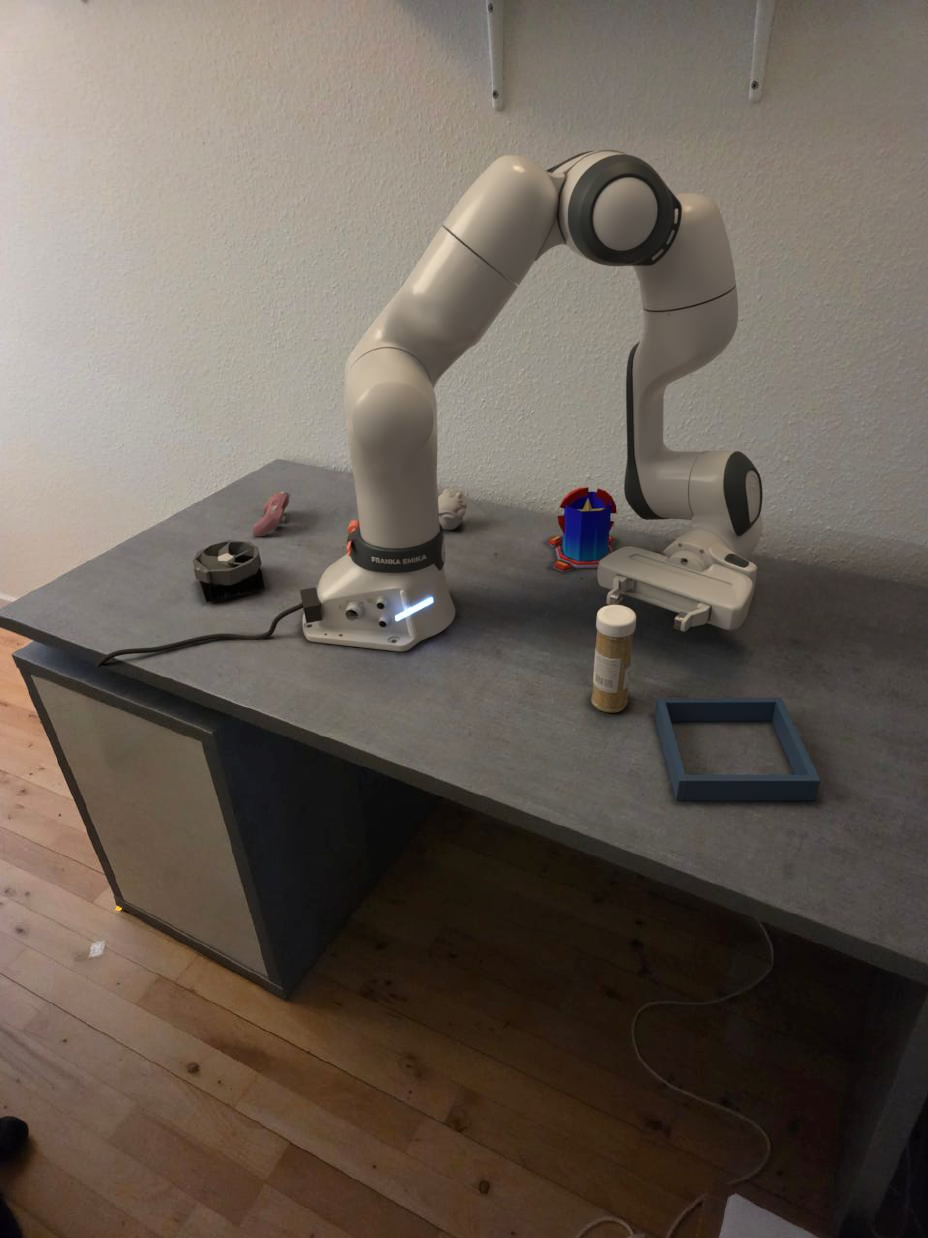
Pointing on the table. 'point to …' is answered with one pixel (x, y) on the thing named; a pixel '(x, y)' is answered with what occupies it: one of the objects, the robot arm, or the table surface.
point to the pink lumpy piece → (272, 514)
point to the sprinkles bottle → (612, 657)
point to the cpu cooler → (228, 570)
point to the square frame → (736, 785)
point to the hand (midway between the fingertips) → (644, 612)
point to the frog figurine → (451, 508)
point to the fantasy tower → (584, 529)
